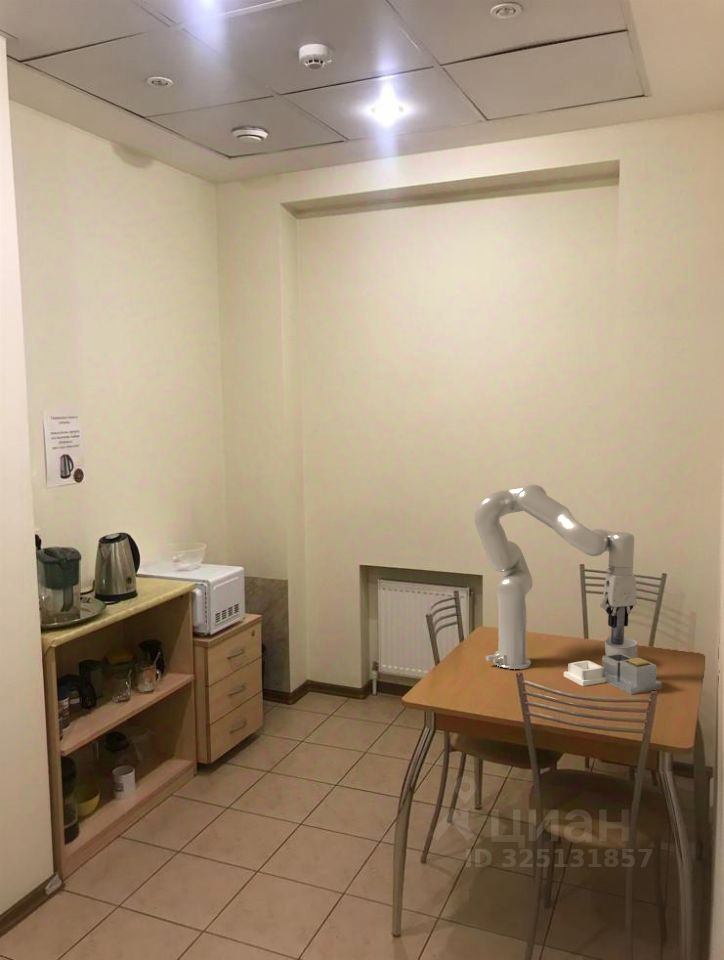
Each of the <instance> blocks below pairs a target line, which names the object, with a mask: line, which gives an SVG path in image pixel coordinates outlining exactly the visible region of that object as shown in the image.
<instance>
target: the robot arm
mask: <svg viewBox="0 0 724 960" xmlns="http://www.w3.org/2000/svg"><path fill="white" fill-rule="evenodd" d="M518 512H525V513H527V514H528V515H530V516H532V517H533V518H535V519H536V520H538V521H539V522H541V523H542V524H544V525H546V526H547V527H549V528H551V529H552V530H553V531H554V532H555V533H556V534H557V535H558V536H560V537H561V538H562V539H563V540H565V541H566V542H567V543H568V544H570V545H571V546H572V547H574V548H576V549H577V550H579V551H580V552H582V553H584V554H585V555H588V556H590V557H599V556H601V555H602V554H604V553H605V552H608V567H607V568H605V571H606V573H607V574H606V577H605V580H604V586H603V597H602V598H603V600H602V602H601V603H600V608H602V609H603V610H604V611H605V612H606V614H607V616H608V617H607V625H608V627H610V628H611V627H613V628H616V619H617V617H616V616H615V613H616V608H617V607H625V624H624V627H628V625H629V615H630V614H631V611H632V609H634V607H635V606H637V605H638V601H637V595H638V594H637V580H636V576H635V574H633V573H634V555H635V537H634V535H633V534H632V533H630V532H625V531H610V530H607V529H602V528H598V529H597V528H596V529H593V530H591V529H589V528H588V527H586V526H585V525H584V524H582V523H580V522H579V521H578V520H577V519H576V518H575V517H574V516H573V514H572V512H571V511H570V510H569V508H568V507H567V506H565V505H563V504H562V503H560V502H559V501H557V500H555V499H554V498H552V497H551V496H549V495H548V494H547V492H546V490H545V489H544V487H542V486H541V485H538V484H530V485H529V484H528V485H525V486H520V487H514V488H510V489H509V488H508V489H503V490H499V491H496V492H493V493H491V494H489V495H487V496H486V497H484V498H483V499H482V500H481V501H480V502H479V504H478V505H477V507H476V509H475V513H474V523H475V527H476V529H477V532H478V534H479V538H480V540H481V543H482V546H483V550H484V552H485V555H486V557H487V560H488V562H489V565H490V567H491V568H492V569H493V570H494V571H495V572H498V573H502V576H503V577H501V579H500V580H499V582H498V584H497V587H496V599H497V608H498V609H497V610H498V611H497V612H498V617H497V618H498V635H497V636H498V637H497V639H498V645H497V646H498V649H497V650H495V653H493V654H490V655H489V654H488V655H486V656H485V661H487V662H491V661H493V664H494V665H495V666H496V665H497V666H496V667H498V666H499V667H498V668H500V667H503V668H509V669H508V670H510V669H514V671H516V670H515V669H520V670H525V669H529V668H530V667H531V664H532V662H531V660H530V659H529V658H527V603H526V596H527V595H528V594H529V593H530V591H531V590H532V588H533V578H532V575H531V572H530V569H529V567H528V564H527V561H526V559H525V556H524V553H523V551H522V549H521V548H520V546H519V545H518V544H517V543H515V542H514V541H511V540H508V537H507V535H506V532H505V530H504V527H503V526H502V524H501V522H500V519H501V518H502V517H504V516H506V515H509V514H512V513H518ZM503 668H502V669H503Z"/></svg>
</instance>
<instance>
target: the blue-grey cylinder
mask: <svg viewBox="0 0 724 960" xmlns="http://www.w3.org/2000/svg"><path fill="white" fill-rule="evenodd" d="M615 616H616V617H617V619H616V628H613V627H610V636H611V643H612V644H615V645H622V644H624V637H625V626H624V624H625V607H617V608H616V613H615Z"/></svg>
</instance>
